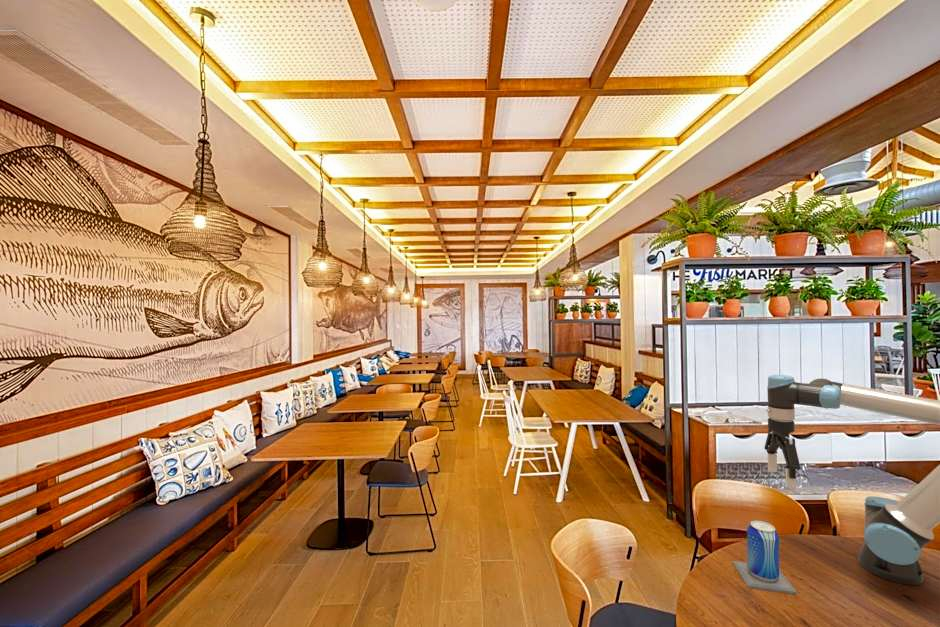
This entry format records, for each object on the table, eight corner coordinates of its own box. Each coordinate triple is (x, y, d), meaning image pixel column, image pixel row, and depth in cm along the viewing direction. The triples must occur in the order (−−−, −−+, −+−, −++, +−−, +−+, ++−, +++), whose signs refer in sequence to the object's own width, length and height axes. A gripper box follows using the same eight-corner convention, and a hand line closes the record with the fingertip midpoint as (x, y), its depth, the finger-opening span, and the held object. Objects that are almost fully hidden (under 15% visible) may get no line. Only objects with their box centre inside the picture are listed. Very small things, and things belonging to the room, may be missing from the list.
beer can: (784, 585, 128) (784, 534, 128) (754, 581, 130) (754, 531, 129) (771, 568, 136) (770, 520, 136) (742, 565, 138) (742, 518, 138)
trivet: (776, 568, 138) (776, 565, 138) (796, 594, 125) (796, 591, 125) (732, 562, 141) (732, 560, 141) (748, 587, 128) (748, 584, 128)
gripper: (754, 410, 158) (754, 465, 158) (786, 428, 134) (786, 493, 134) (776, 411, 156) (776, 466, 156) (813, 429, 132) (813, 495, 132)
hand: (781, 479), depth 145 cm, fingers open, 13 cm apart
